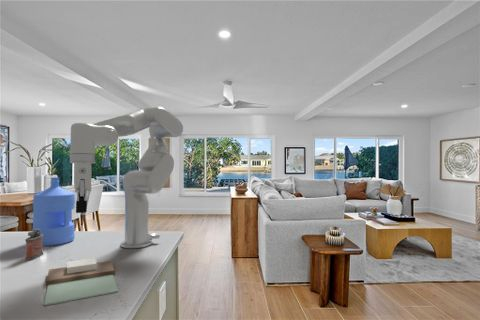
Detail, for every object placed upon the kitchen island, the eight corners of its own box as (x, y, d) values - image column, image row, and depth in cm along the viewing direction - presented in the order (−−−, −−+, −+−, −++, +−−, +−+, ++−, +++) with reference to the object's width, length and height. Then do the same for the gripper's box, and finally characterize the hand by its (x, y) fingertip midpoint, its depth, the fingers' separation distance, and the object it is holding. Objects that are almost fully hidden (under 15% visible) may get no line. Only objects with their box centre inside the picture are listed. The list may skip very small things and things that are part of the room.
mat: (113, 275, 92) (113, 274, 92) (118, 291, 81) (118, 290, 81) (48, 286, 84) (48, 284, 84) (43, 306, 72) (43, 304, 72)
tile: (95, 263, 98) (95, 258, 98) (96, 269, 93) (96, 263, 93) (67, 267, 94) (67, 261, 95) (66, 273, 89) (67, 267, 89)
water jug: (22, 245, 124) (23, 178, 124) (54, 236, 139) (54, 176, 139) (54, 248, 120) (55, 179, 120) (82, 238, 136) (83, 177, 136)
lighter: (36, 253, 113) (36, 227, 113) (45, 253, 113) (45, 227, 113) (22, 260, 105) (22, 232, 105) (32, 260, 105) (32, 232, 105)
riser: (111, 265, 101) (111, 260, 101) (114, 275, 92) (114, 270, 92) (48, 274, 93) (49, 269, 93) (46, 286, 84) (46, 280, 84)
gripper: (95, 159, 98) (94, 215, 97) (93, 159, 111) (92, 208, 110) (69, 158, 94) (68, 216, 94) (70, 159, 107) (69, 210, 107)
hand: (81, 212), depth 102 cm, fingers closed
